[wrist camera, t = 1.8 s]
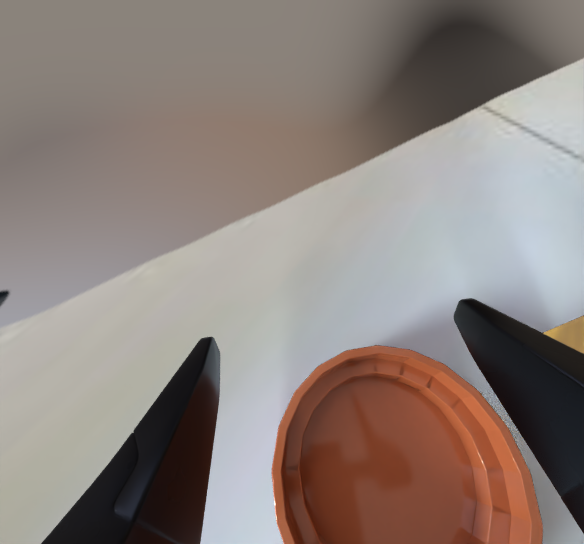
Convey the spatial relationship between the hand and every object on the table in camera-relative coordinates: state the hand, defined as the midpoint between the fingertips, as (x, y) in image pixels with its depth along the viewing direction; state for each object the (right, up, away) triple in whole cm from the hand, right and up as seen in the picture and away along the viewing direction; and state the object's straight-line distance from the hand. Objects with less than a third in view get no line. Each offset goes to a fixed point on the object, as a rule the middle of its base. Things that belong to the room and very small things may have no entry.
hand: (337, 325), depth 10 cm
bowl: (+5, -12, +10) cm, 16 cm away
